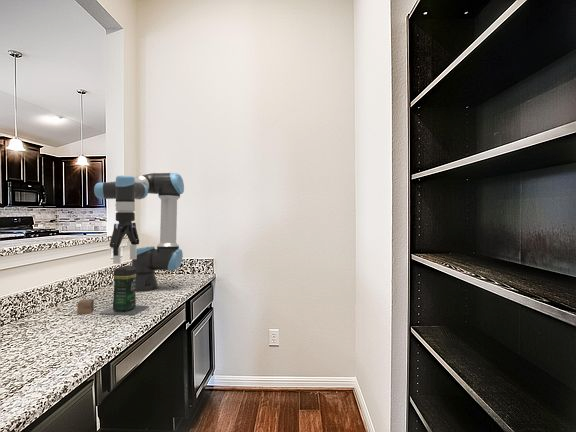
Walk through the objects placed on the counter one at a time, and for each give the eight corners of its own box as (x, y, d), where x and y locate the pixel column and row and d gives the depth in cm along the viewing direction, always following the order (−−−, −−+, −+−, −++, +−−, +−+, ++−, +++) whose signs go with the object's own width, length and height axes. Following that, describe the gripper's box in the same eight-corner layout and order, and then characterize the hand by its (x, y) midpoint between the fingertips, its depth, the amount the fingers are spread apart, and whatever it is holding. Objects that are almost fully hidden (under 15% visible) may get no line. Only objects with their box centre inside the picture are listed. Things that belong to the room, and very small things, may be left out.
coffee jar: (128, 312, 152) (129, 267, 152) (109, 312, 152) (110, 267, 152) (138, 306, 161) (139, 264, 161) (120, 306, 161) (121, 264, 161)
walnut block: (80, 311, 155) (80, 299, 155) (93, 310, 157) (93, 299, 157) (77, 314, 150) (77, 302, 150) (90, 313, 152) (90, 301, 152)
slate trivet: (116, 306, 163) (116, 305, 163) (148, 307, 162) (148, 306, 162) (99, 314, 150) (99, 313, 150) (134, 315, 149) (134, 313, 149)
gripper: (131, 211, 169) (131, 257, 169) (99, 211, 144) (100, 265, 145) (147, 211, 169) (147, 257, 169) (118, 211, 144) (118, 265, 144)
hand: (125, 261), depth 157 cm, fingers open, 13 cm apart
